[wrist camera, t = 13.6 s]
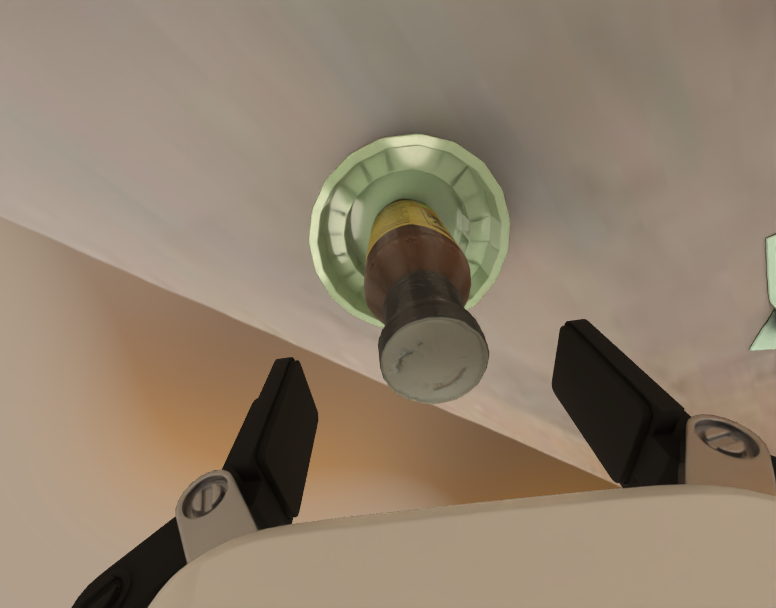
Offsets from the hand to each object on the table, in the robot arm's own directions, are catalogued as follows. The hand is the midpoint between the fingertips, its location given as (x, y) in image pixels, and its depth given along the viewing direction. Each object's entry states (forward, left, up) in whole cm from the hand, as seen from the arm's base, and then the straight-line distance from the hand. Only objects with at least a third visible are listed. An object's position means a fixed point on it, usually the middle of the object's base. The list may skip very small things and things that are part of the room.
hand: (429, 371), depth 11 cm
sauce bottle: (0, 0, -20) cm, 20 cm away
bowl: (0, 0, -21) cm, 21 cm away
